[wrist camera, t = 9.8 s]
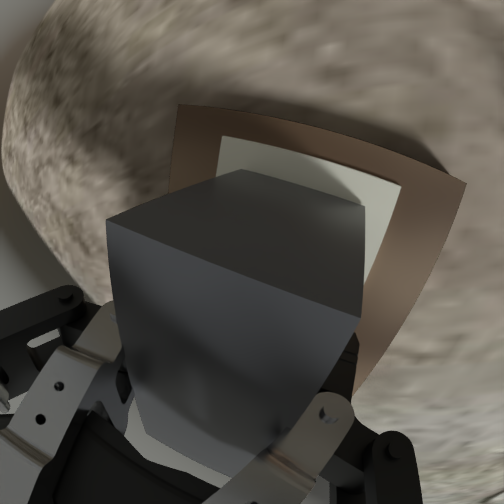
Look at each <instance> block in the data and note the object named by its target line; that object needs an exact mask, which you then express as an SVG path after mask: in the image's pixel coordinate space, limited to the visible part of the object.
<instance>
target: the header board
mask: <svg viewBox="0 0 504 504" xmlns="http://www.w3.org/2000/svg"><path fill="white" fill-rule="evenodd" d="M239 169H244V170H248V171H252V172H256V173H259V174H263V175H267V176H270V177H274V178H278V179H281V180H285V181H288V182H292V183H295V184H298V185H302V186H305V187H308V188H312V189H315V190H318V191H321V192H324V193H327V194H331V195H334V196H337V197H340V198H343V199H346V200H349V201H352V202H354V203H357V204H360V205H363V206H365V268H364V287H363V302H362V313H361V319H360V321H359V323H358V325H357V327H356V329H355V331H354V332H355V333H356V335H357V338H358V341H359V344H360V345H359V353H358V361H357V365H356V366H357V368H356V374H355V381H354V387H353V392H352V396H353V395H354V394H355V392H356V391H357V390H358V388H359V387H360V386H361V385H362V383H363V382H364V381H365V379H366V378H367V377H368V375H369V374H370V372H371V371H372V370H373V368H374V367H375V366H376V364H377V363H378V361H379V360H380V358H381V357H382V355H383V354H384V353H385V351H386V350H387V348H388V347H389V345H390V344H391V342H392V340H393V339H394V337H395V336H396V334H397V333H398V331H399V329H400V328H401V326H402V324H403V323H404V321H405V319H406V318H407V316H408V314H409V313H410V311H411V309H412V307H413V306H414V304H415V302H416V300H417V298H418V297H419V295H420V293H421V291H422V289H423V287H424V285H425V283H426V281H427V280H428V278H429V276H430V274H431V271H432V269H433V267H434V265H435V263H436V261H437V259H438V257H439V255H440V252H441V250H442V248H443V246H444V243H445V241H446V239H447V236H448V234H449V231H450V229H451V226H452V224H453V221H454V219H455V216H456V213H457V211H458V208H459V205H460V202H461V199H462V197H463V194H464V191H465V187H466V184H467V183H465V182H463V181H461V180H459V179H457V178H455V177H453V176H451V175H449V174H447V173H445V172H443V171H440V170H438V169H436V168H434V167H432V166H429V165H427V164H425V163H422V162H420V161H417V160H415V159H412V158H410V157H407V156H405V155H402V154H400V153H397V152H394V151H392V150H389V149H386V148H383V147H381V146H378V145H375V144H372V143H369V142H366V141H363V140H360V139H357V138H353V137H350V136H347V135H343V134H340V133H337V132H333V131H329V130H326V129H322V128H318V127H314V126H310V125H306V124H302V123H298V122H294V121H289V120H285V119H280V118H275V117H270V116H265V115H259V114H254V113H248V112H242V111H235V110H229V109H221V108H214V107H205V106H195V105H182V104H179V105H178V112H177V118H176V126H175V133H174V141H173V150H172V159H171V168H170V179H169V191H168V194H170V193H172V192H175V191H178V190H180V189H183V188H186V187H189V186H191V185H194V184H197V183H200V182H203V181H206V180H208V179H211V178H214V177H217V176H220V175H223V174H226V173H230V172H233V171H236V170H239Z"/></svg>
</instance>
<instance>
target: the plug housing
mask: <svg viewBox="0 0 504 504" xmlns="http://www.w3.org/2000/svg"><path fill="white" fill-rule="evenodd" d="M106 234H107V248H108V260H109V269H110V278H111V286H112V294H113V300H114V307H115V313H116V319H117V324H118V330H119V335H120V340H121V344H122V345H123V347H124V352H125V363H126V367H127V371H128V375H129V379H130V383H131V386H132V387H133V389H134V393H135V396H134V397H135V400H136V403H137V407H138V410H139V413H140V417H141V420H142V423H143V426H144V429H145V431H146V433H147V434H148V435H150V436H151V437H153V438H155V439H156V440H158V441H160V442H161V443H163V444H165V445H166V446H168V447H170V448H172V449H173V450H175V451H177V452H179V453H181V454H183V455H184V456H186V457H188V458H190V459H192V460H194V461H196V462H198V463H200V464H202V465H204V466H206V467H208V468H211V469H213V470H215V471H217V472H220V473H222V474H224V475H226V476H228V477H231V478H233V477H234V476H235V475H236V474H238V473H239V472H240V471H241V470H242V469H243V468H244V467H245V466H246V465H247V464H248V463H249V462H250V461H251V460H253V459H254V458H255V457H256V456H257V455H258V454H259V453H260V452H261V451H262V450H263V449H265V448H267V447H268V446H269V445H270V444H271V443H272V442H273V441H274V440H275V439H276V438H277V437H278V436H279V434H280V433H281V432H282V431H283V430H284V429H285V428H286V427H288V428H291V429H292V428H293V427H294V426H295V424H296V423H297V421H298V420H299V419H300V417H301V416H302V414H303V413H304V412H305V410H306V409H307V407H308V406H309V404H310V403H311V401H312V400H313V398H314V397H315V395H316V394H317V392H318V391H319V389H320V388H321V386H322V385H323V383H324V382H325V380H326V378H327V377H328V375H329V374H330V372H331V370H332V369H333V367H334V366H335V364H336V362H337V361H338V359H339V357H340V355H341V354H342V352H343V350H344V349H345V347H346V345H347V343H348V342H349V340H350V338H351V336H352V334H353V333H354V331H355V329H356V327H357V325H358V323H359V321H360V319H361V313H362V302H363V287H364V268H365V206H363V205H360V204H357V203H354V202H352V201H349V200H346V199H343V198H340V197H337V196H334V195H331V194H327V193H324V192H321V191H318V190H315V189H312V188H308V187H305V186H302V185H298V184H295V183H292V182H288V181H285V180H281V179H278V178H274V177H270V176H267V175H263V174H259V173H256V172H252V171H248V170H244V169H239V170H236V171H233V172H230V173H226V174H223V175H220V176H217V177H214V178H211V179H208V180H206V181H203V182H200V183H197V184H194V185H191V186H189V187H186V188H183V189H180V190H178V191H175V192H172V193H170V194H167V195H164V196H162V197H159V198H157V199H154V200H151V201H149V202H146V203H144V204H141V205H139V206H137V207H134V208H132V209H129V210H127V211H125V212H122V213H120V214H118V215H115V216H113V217H111V218H108V219H106Z"/></svg>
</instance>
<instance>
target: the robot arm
mask: <svg viewBox="0 0 504 504" xmlns="http://www.w3.org/2000/svg"><path fill="white" fill-rule="evenodd" d="M55 329H58V332H59V334H60V337H58V338H55V339H53V340H51V341H49V342H46V343H44V344H42V345H40V346H38V347H35V348H31V347H29V346H28V345H27V343H28V342H29V341H30V340H32V339H34V338H36V337H39V336H41V335H43V334H45V333H48V332H49V331H52V330H55ZM359 345H360V344H359V341H358V338H357V335H356V333H355V332H354V333H353V334H352V336H351V338H350V340H349V342H348V343H347V345H346V347H345V349H344V350H343V352H342V354H341V355H340V357H339V359H338V361H337V362H336V364H335V366H334V367H333V369H332V370H331V372H330V374H329V375H328V377H327V378H326V380H325V382H324V383H323V385H322V386H321V388H320V389H319V391H318V392H317V394H316V395H315V397H314V398H313V400H312V401H311V403H310V404H309V406H308V407H307V409H306V410H305V412H304V413H303V414H302V416H301V417H300V419H299V420H298V421H297V423H296V424H295V426H294V427H293V428H292V429H291V428H288V427H286V428H285V429H284V430H283V431H282V432H281V433H280V434H279V436H278V437H277V438H276V439H275V440H274V441H273V442H272V443H271V444H270V445H269V446H268V447H267V448H265V449H263V450H262V451H261V452H260V453H259V454H258V455H257V456H256V457H255V458H254V459H253V460H251V461H250V462H249V463H248V464H247V465H246V466H245V467H244V468H243V469H242V470H241V471H240V472H239V473H238V474H236V475H235V476H234V477H233V478H232V479H231V480H230V481H229V482H227V483H226V484H225V485H224V486H223V487H222V488H218V487H216V486H214V485H212V484H209V483H207V482H205V481H203V480H201V479H199V478H197V477H195V476H193V475H191V474H189V473H187V472H183V471H179V470H176V469H173V468H170V467H166V466H163V465H160V464H157V463H154V462H151V461H149V460H147V459H145V458H144V457H143V456H142V455H141V454H140V453H139V452H138V451H137V450H136V449H135V448H134V447H133V446H132V445H131V443H129V441H128V440H127V439H126V438H125V437H124V434H125V431H126V428H127V422H128V411H129V408H130V405H131V403H132V400H133V398H134V396H135V393H134V389H133V387H132V386H131V383H130V379H129V375H128V371H127V367H126V363H125V352H124V347H123V345H122V344H121V340H120V335H119V330H118V324H117V319H116V313H115V307H114V300H113V301H109V302H107V303H105V304H104V305H103V306H100V305H96V304H93V303H89V302H86V301H85V299H84V294H83V291H82V290H81V289H80V288H79V287H77V286H73V285H65V286H61V287H58V288H56V289H53V290H50V291H48V292H45V293H43V294H40V295H38V296H36V297H33V298H30V299H28V300H25V301H23V302H20V303H18V304H15V305H13V306H10V307H8V308H6V309H3V310H1V311H0V411H1V412H2V413H7V412H8V411H9V410H10V404H9V402H8V400H10V399H12V398H14V397H16V396H19V395H20V394H23V393H25V392H27V391H28V392H27V394H26V396H25V397H24V399H23V401H22V402H21V404H20V406H19V407H18V409H17V411H16V413H15V414H0V504H301V502H302V501H303V500H304V499H305V498H306V496H307V495H308V494H309V493H310V491H311V490H312V488H313V487H314V485H315V483H316V481H315V480H316V477H317V476H318V475H319V476H321V477H323V478H324V479H326V480H327V481H329V482H330V504H423V501H422V493H421V486H420V480H419V474H418V468H417V463H416V457H415V452H414V448H413V445H412V443H411V441H410V440H409V438H408V437H407V436H405V435H404V434H402V433H400V432H398V431H386V432H383V433H382V434H380V435H379V434H377V433H375V432H374V431H372V430H371V429H369V428H367V427H366V426H364V425H363V424H361V423H360V422H359V421H358V419H357V418H356V417H355V414H354V410H353V407H352V405H351V398H352V392H353V387H354V381H355V374H356V368H357V366H356V365H357V361H358V353H359Z"/></svg>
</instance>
